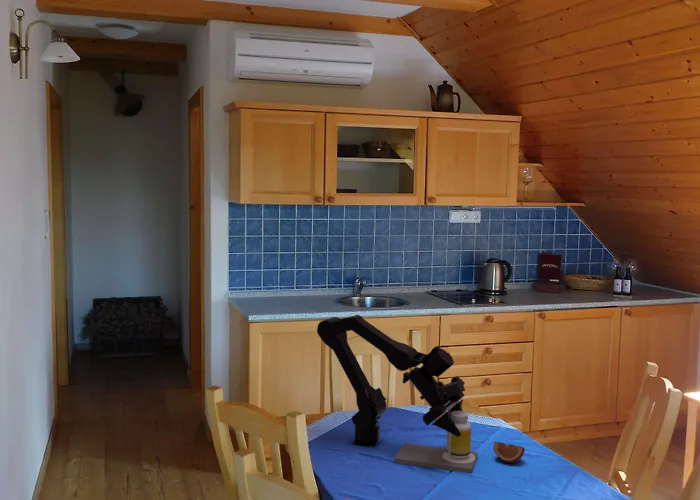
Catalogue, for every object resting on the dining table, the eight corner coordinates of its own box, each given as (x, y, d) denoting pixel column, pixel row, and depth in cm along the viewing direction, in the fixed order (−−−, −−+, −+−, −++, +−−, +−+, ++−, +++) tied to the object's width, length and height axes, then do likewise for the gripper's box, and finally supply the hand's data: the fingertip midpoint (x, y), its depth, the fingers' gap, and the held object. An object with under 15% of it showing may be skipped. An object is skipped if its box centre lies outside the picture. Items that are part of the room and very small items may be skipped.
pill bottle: (473, 458, 196) (475, 417, 194) (450, 459, 195) (452, 418, 193) (465, 449, 202) (467, 409, 201) (443, 450, 201) (444, 409, 200)
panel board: (394, 462, 197) (394, 457, 197) (404, 446, 208) (404, 442, 208) (471, 473, 190) (471, 468, 190) (477, 456, 202) (477, 452, 202)
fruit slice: (489, 461, 199) (490, 443, 198) (498, 453, 204) (499, 436, 204) (518, 468, 194) (519, 450, 194) (527, 460, 200) (528, 442, 199)
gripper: (435, 377, 189) (474, 426, 186) (459, 361, 206) (495, 405, 202) (406, 401, 194) (444, 449, 190) (432, 384, 210) (466, 427, 206)
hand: (463, 431), depth 197 cm, fingers closed on pill bottle, 6 cm apart
